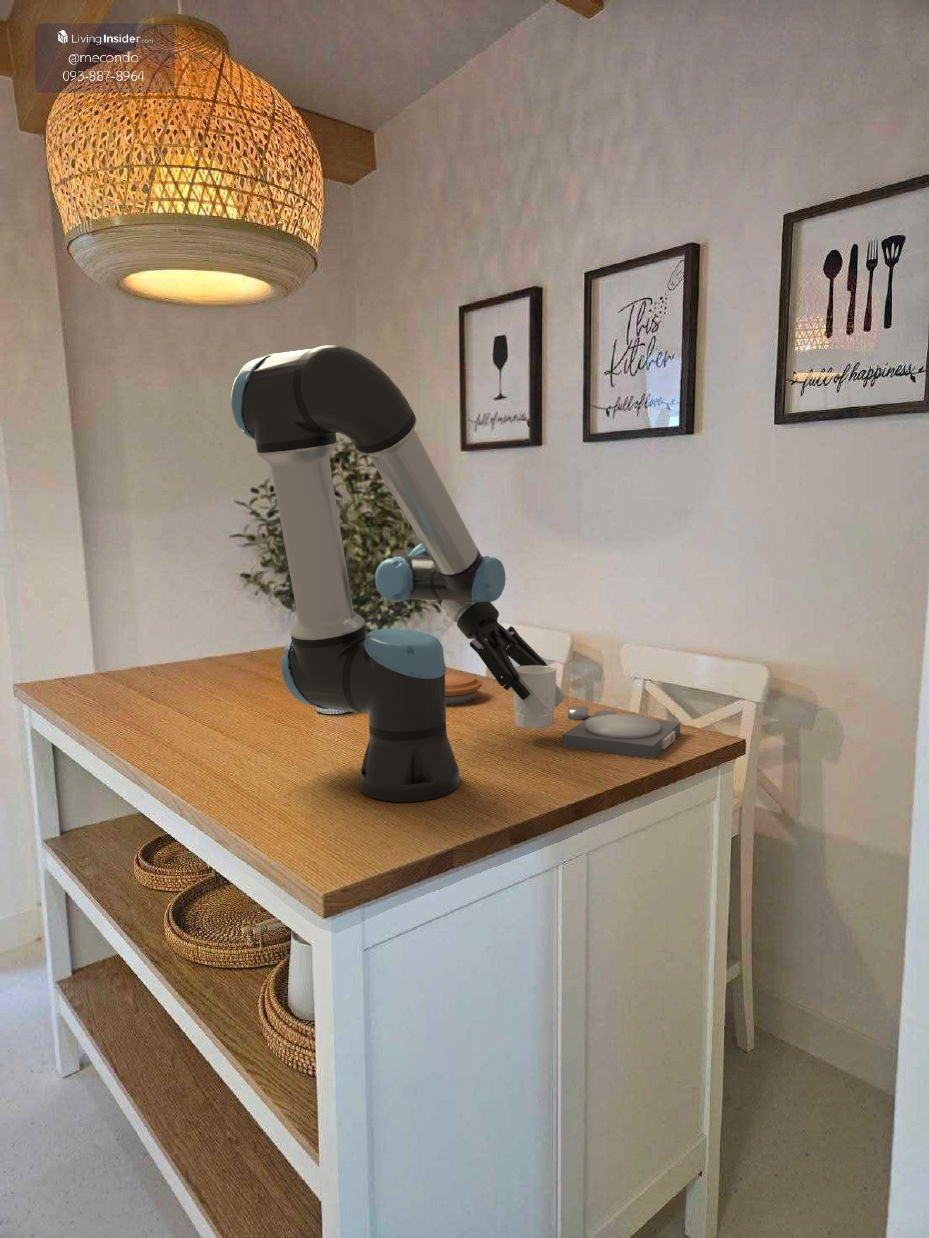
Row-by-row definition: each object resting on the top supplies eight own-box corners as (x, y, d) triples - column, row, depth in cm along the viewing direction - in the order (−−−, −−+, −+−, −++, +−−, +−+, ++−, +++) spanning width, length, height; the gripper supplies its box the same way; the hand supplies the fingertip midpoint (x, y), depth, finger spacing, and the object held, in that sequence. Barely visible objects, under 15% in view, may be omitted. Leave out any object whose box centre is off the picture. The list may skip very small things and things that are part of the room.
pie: (497, 699, 177) (496, 676, 177) (440, 711, 168) (439, 688, 167) (453, 688, 189) (453, 667, 189) (398, 699, 180) (397, 677, 179)
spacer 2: (611, 726, 153) (611, 716, 153) (591, 724, 155) (591, 714, 155) (618, 721, 157) (618, 711, 156) (599, 719, 159) (599, 709, 158)
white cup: (554, 730, 140) (554, 673, 139) (508, 728, 142) (508, 672, 141) (558, 720, 148) (558, 665, 147) (515, 718, 149) (515, 664, 148)
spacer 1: (583, 722, 157) (583, 712, 157) (564, 719, 159) (564, 709, 159) (591, 717, 161) (591, 707, 160) (572, 715, 163) (572, 705, 162)
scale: (656, 759, 133) (656, 741, 132) (562, 746, 141) (562, 729, 141) (683, 734, 146) (684, 718, 146) (596, 724, 155) (596, 708, 154)
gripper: (485, 618, 159) (561, 707, 153) (428, 631, 142) (511, 732, 136) (509, 592, 156) (587, 682, 150) (454, 602, 139) (540, 704, 132)
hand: (551, 706), depth 143 cm, fingers closed on white cup, 8 cm apart
